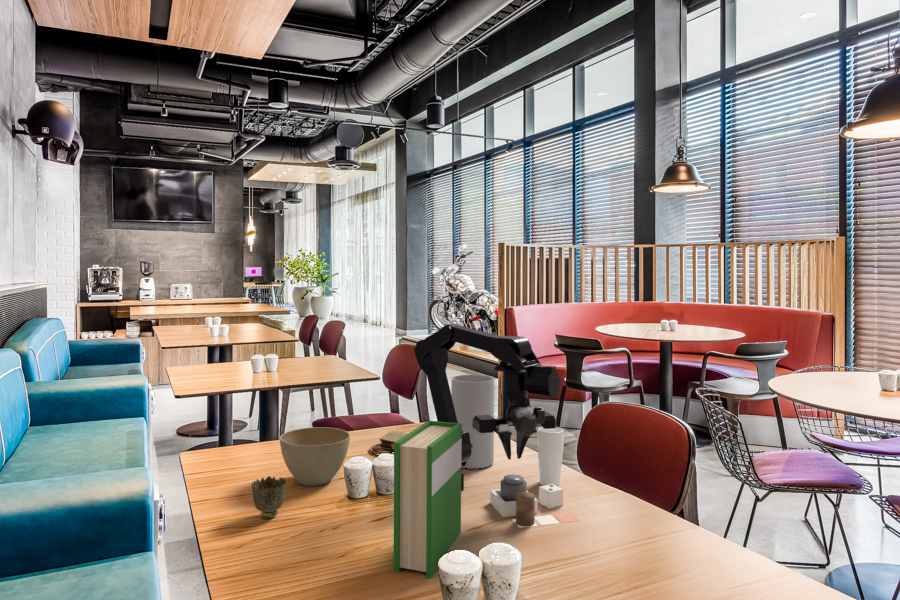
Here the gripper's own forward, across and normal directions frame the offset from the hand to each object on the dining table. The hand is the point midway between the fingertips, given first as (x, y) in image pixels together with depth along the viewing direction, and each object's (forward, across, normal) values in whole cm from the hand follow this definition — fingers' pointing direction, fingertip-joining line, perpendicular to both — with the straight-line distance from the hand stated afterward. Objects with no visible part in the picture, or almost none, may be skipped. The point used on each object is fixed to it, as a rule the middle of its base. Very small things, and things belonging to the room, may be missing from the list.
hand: (513, 458), depth 133 cm
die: (+12, +10, 0) cm, 15 cm away
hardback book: (+13, -24, -15) cm, 30 cm away
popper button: (+9, 0, 0) cm, 9 cm away
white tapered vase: (+13, +16, +13) cm, 24 cm away
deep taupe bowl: (+13, -44, +32) cm, 56 cm away
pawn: (+12, 0, -8) cm, 14 cm away
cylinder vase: (+13, +2, +36) cm, 38 cm away
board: (+12, +4, -4) cm, 14 cm away
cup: (+13, -54, +11) cm, 57 cm away
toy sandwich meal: (+13, -20, +55) cm, 60 cm away
